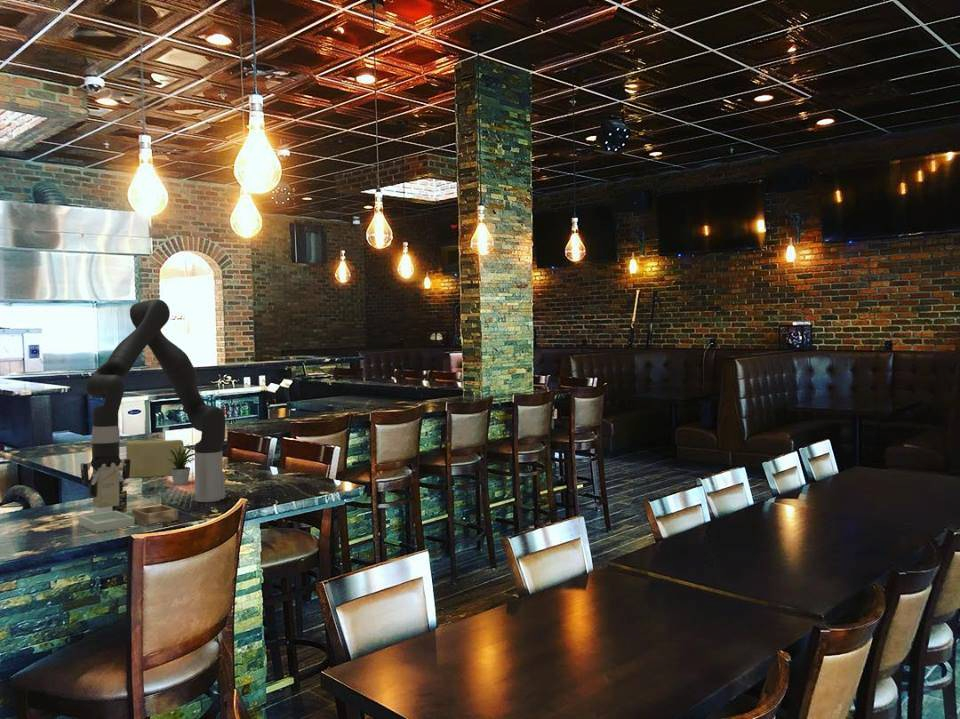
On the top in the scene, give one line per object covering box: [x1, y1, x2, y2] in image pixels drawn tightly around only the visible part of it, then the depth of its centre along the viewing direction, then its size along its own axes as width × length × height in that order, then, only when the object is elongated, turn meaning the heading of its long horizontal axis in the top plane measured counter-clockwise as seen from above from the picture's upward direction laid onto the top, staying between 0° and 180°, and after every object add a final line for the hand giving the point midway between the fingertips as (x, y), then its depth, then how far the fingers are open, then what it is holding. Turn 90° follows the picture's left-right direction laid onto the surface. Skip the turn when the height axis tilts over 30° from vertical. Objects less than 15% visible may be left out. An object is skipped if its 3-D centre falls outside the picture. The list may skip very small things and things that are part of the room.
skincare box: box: [92, 466, 119, 508], centre depth 233 cm, size 6×4×12 cm
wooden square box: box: [131, 504, 179, 527], centre depth 239 cm, size 10×10×4 cm
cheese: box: [125, 439, 186, 479], centre depth 319 cm, size 22×10×15 cm, turn 95°
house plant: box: [166, 443, 195, 486], centre depth 300 cm, size 14×14×16 cm
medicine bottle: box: [93, 488, 128, 514], centre depth 251 cm, size 7×7×12 cm
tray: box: [78, 511, 135, 534], centre depth 233 cm, size 11×14×3 cm
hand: (106, 495), depth 233 cm, fingers closed on skincare box, 6 cm apart
